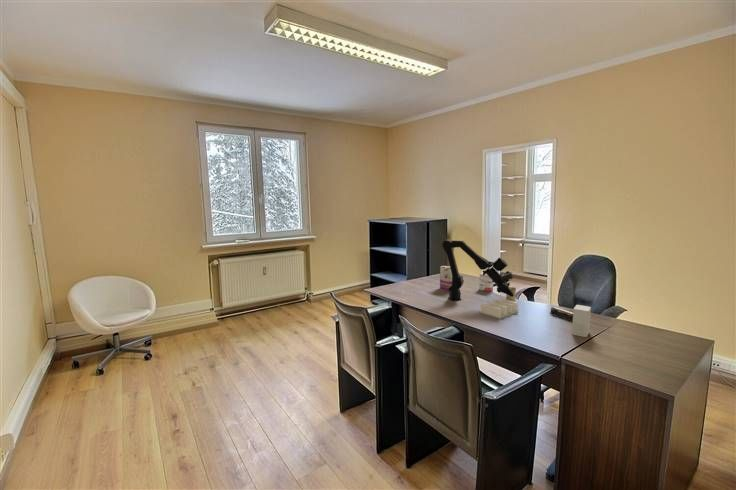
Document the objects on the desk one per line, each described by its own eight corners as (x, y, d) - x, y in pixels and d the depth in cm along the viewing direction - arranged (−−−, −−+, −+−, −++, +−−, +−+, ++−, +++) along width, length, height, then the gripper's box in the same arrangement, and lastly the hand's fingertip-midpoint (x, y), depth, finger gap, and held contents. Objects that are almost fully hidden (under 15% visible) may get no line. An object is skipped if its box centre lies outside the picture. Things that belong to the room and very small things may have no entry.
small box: (574, 329, 175) (576, 304, 173) (589, 332, 171) (591, 306, 169) (571, 334, 169) (573, 308, 167) (586, 337, 165) (588, 311, 163)
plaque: (505, 305, 212) (506, 286, 210) (506, 304, 215) (507, 285, 213) (514, 307, 210) (515, 287, 208) (515, 305, 213) (516, 286, 211)
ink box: (493, 290, 246) (493, 274, 244) (489, 291, 243) (489, 275, 241) (482, 288, 252) (483, 272, 251) (478, 289, 249) (479, 273, 248)
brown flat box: (574, 326, 180) (575, 318, 179) (533, 311, 202) (534, 304, 202) (592, 321, 186) (593, 314, 185) (551, 308, 208) (551, 301, 208)
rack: (479, 312, 201) (480, 303, 200) (498, 306, 211) (498, 297, 211) (500, 319, 190) (500, 309, 190) (518, 312, 201) (518, 302, 200)
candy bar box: (456, 289, 249) (457, 267, 247) (452, 291, 246) (453, 268, 243) (443, 287, 257) (443, 265, 255) (439, 288, 254) (439, 266, 251)
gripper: (503, 270, 202) (523, 291, 199) (506, 264, 219) (525, 283, 216) (488, 282, 207) (507, 303, 204) (493, 275, 224) (510, 294, 220)
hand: (513, 295), depth 211 cm, fingers closed on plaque, 3 cm apart
